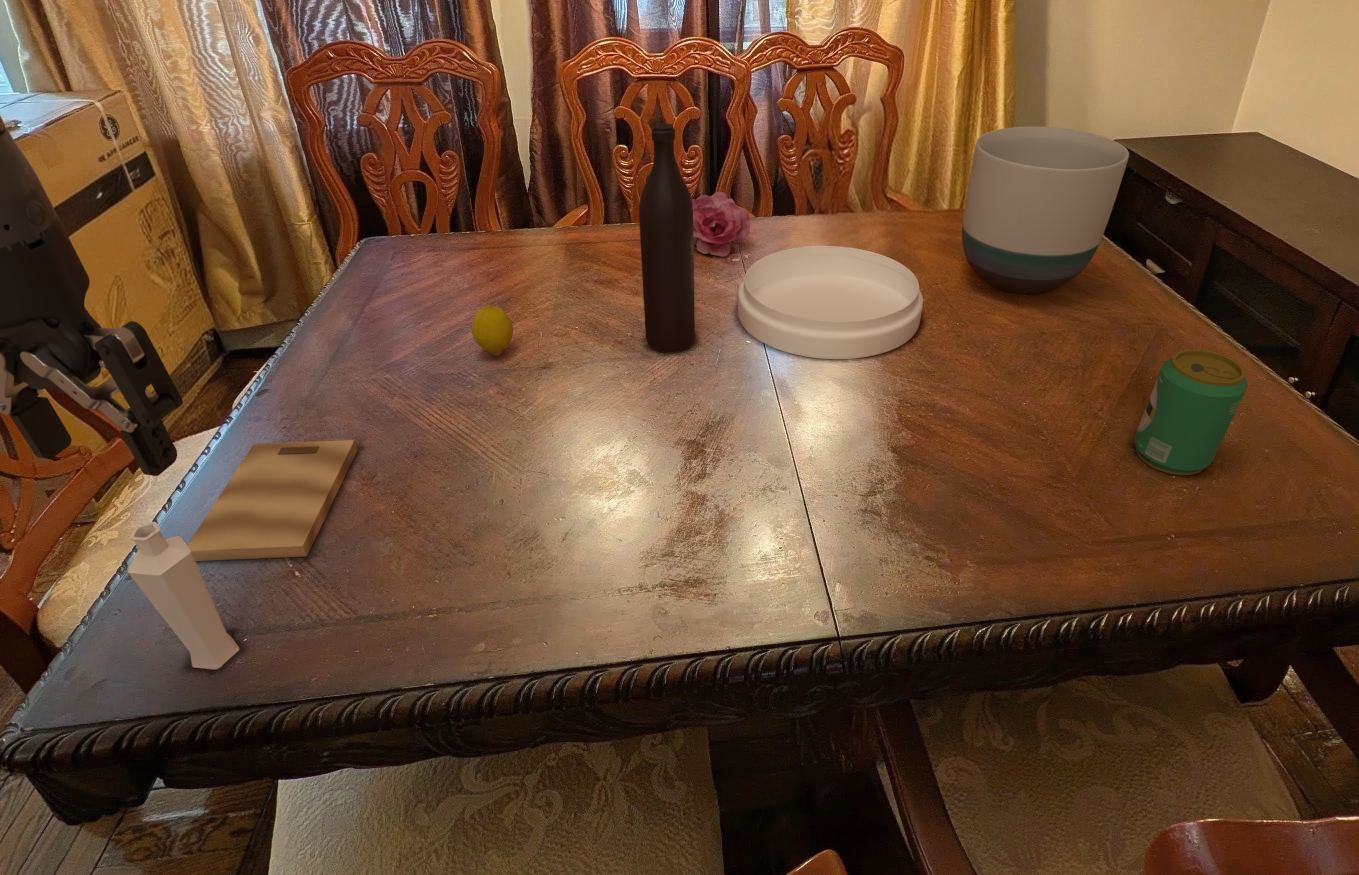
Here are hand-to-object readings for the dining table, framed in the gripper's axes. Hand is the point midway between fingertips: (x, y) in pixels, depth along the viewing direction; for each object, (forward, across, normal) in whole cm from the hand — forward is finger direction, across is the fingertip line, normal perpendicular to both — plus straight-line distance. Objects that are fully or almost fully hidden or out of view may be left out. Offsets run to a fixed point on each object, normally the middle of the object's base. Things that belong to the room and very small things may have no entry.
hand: (109, 459), depth 53 cm
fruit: (+26, -2, +58) cm, 63 cm away
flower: (+26, +21, +100) cm, 105 cm away
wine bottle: (+26, +21, +66) cm, 74 cm away
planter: (+26, +71, +94) cm, 121 cm away
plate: (+26, +42, +78) cm, 93 cm away
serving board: (+26, -13, +23) cm, 37 cm away
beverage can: (+26, +84, +51) cm, 101 cm away
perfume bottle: (+26, -6, +3) cm, 27 cm away
